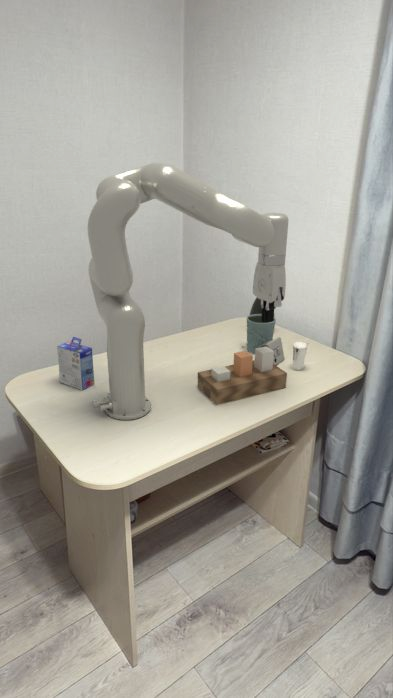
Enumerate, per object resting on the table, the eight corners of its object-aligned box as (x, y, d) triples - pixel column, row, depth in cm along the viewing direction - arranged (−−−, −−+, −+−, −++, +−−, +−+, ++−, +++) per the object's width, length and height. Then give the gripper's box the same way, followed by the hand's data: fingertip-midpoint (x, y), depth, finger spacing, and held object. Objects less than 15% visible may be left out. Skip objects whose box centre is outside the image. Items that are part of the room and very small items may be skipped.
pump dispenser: (268, 337, 180) (271, 299, 173) (243, 332, 184) (245, 295, 178) (278, 329, 188) (281, 293, 182) (254, 324, 192) (256, 288, 186)
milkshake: (301, 373, 152) (304, 345, 148) (287, 367, 155) (290, 340, 151) (309, 369, 154) (312, 341, 150) (296, 364, 158) (299, 336, 154)
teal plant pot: (243, 353, 166) (244, 321, 161) (246, 342, 175) (248, 312, 170) (272, 356, 164) (274, 324, 159) (274, 345, 173) (276, 314, 168)
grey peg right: (261, 373, 141) (262, 353, 139) (254, 368, 145) (255, 348, 142) (272, 370, 143) (274, 351, 140) (264, 365, 146) (266, 346, 144)
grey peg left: (217, 393, 136) (218, 373, 134) (211, 388, 140) (211, 368, 137) (229, 391, 138) (230, 371, 136) (222, 385, 141) (223, 365, 139)
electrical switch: (272, 368, 155) (272, 344, 152) (260, 365, 158) (260, 342, 155) (284, 360, 161) (284, 337, 158) (273, 357, 164) (272, 335, 161)
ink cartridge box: (96, 383, 143) (92, 340, 138) (83, 391, 139) (78, 346, 133) (72, 375, 148) (68, 333, 142) (59, 382, 144) (54, 339, 138)
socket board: (216, 405, 133) (217, 389, 131) (197, 387, 142) (197, 372, 140) (285, 387, 143) (287, 373, 141) (263, 371, 152) (264, 357, 150)
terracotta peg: (240, 378, 138) (241, 358, 136) (233, 372, 141) (234, 353, 139) (251, 375, 140) (252, 355, 137) (244, 370, 143) (245, 350, 140)
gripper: (245, 255, 135) (242, 315, 142) (276, 266, 123) (271, 332, 130) (267, 253, 138) (263, 312, 145) (299, 263, 126) (293, 327, 133)
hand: (267, 321), depth 138 cm, fingers closed
